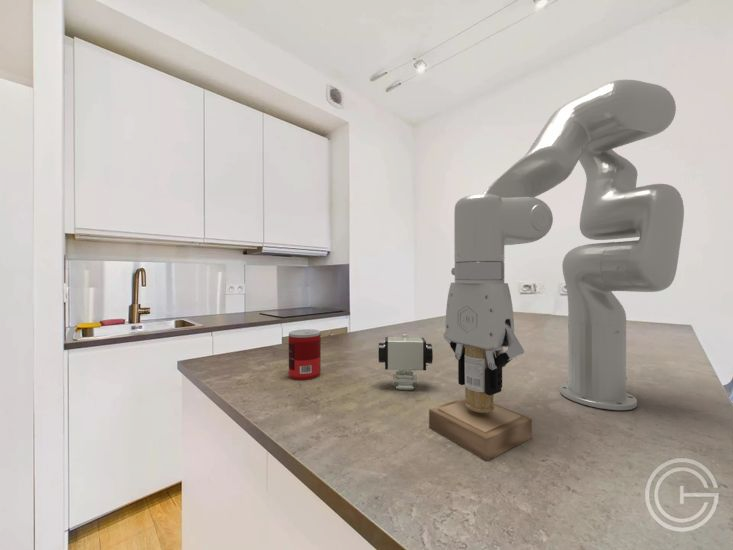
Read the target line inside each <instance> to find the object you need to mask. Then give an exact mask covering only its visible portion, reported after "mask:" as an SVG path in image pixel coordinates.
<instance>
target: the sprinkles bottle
mask: <svg viewBox="0 0 733 550" xmlns="http://www.w3.org/2000/svg"><path fill="white" fill-rule="evenodd" d="M464 347H465V385H464V389H465V390H464V393H465V395H464V396H465V397H464V398H465V406H466V407H467V408H468V409H470V410H471V411H475V412H479V413H488V412H491V411H493V410H494V404H495V403H494V394H493V395H490V396H489V395H487V394H486V393H485V368H489V366H488V362H487V357H486V351H485V350H484V349H480V348H475V347H471V346H467V345H465V346H464Z"/></svg>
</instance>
